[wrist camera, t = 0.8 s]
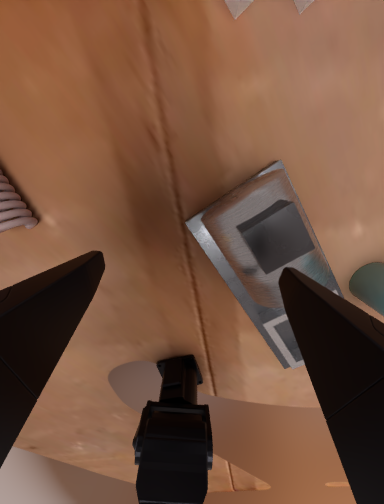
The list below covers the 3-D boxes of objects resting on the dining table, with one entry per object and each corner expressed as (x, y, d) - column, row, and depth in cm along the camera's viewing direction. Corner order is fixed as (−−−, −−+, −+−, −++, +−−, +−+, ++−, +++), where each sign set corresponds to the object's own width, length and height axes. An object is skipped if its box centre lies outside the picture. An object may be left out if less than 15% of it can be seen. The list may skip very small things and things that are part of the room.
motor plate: (353, 329, 29) (445, 414, 18) (280, 360, 31) (324, 451, 21) (275, 161, 21) (357, 139, 10) (185, 220, 23) (178, 252, 13)
